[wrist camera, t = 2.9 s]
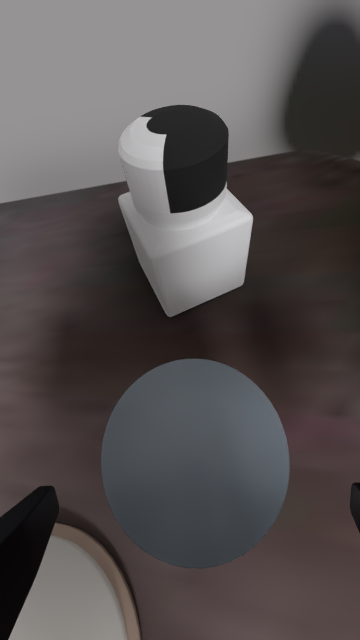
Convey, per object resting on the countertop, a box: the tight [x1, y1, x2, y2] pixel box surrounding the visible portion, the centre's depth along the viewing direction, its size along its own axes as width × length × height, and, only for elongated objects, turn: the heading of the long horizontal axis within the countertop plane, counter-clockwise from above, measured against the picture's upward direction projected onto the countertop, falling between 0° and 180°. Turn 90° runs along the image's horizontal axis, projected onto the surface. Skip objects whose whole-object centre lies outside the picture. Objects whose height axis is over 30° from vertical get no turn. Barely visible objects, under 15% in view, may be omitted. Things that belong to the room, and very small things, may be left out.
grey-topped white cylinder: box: [101, 359, 289, 568], centre depth 12 cm, size 5×5×11 cm
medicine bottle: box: [118, 105, 253, 317], centre depth 19 cm, size 7×7×12 cm
